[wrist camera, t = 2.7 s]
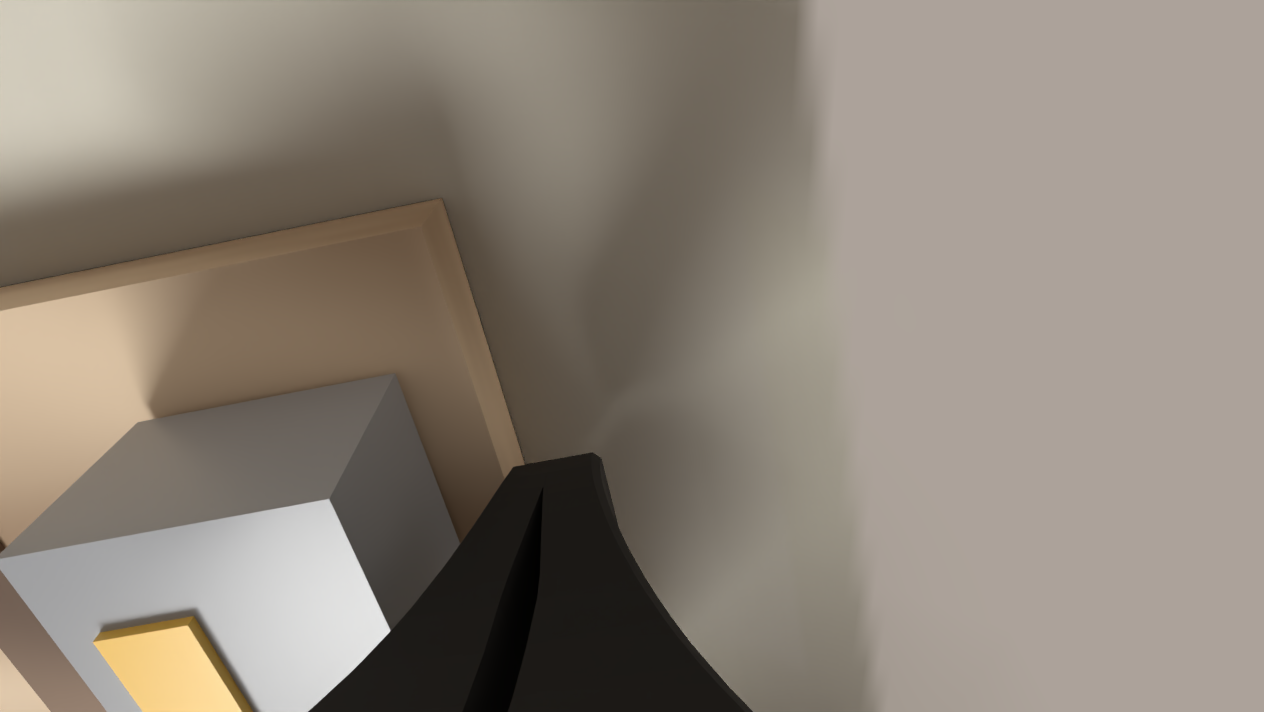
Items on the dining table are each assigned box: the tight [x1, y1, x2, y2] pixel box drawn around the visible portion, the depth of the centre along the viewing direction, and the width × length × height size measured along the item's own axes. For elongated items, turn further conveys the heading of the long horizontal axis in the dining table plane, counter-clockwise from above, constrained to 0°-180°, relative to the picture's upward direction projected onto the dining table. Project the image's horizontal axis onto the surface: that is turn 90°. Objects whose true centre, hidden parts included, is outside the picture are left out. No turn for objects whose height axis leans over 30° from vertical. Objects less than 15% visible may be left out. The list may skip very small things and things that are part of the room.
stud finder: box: [0, 373, 460, 712], centre depth 11 cm, size 5×4×3 cm
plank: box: [0, 198, 525, 712], centre depth 15 cm, size 15×12×2 cm
